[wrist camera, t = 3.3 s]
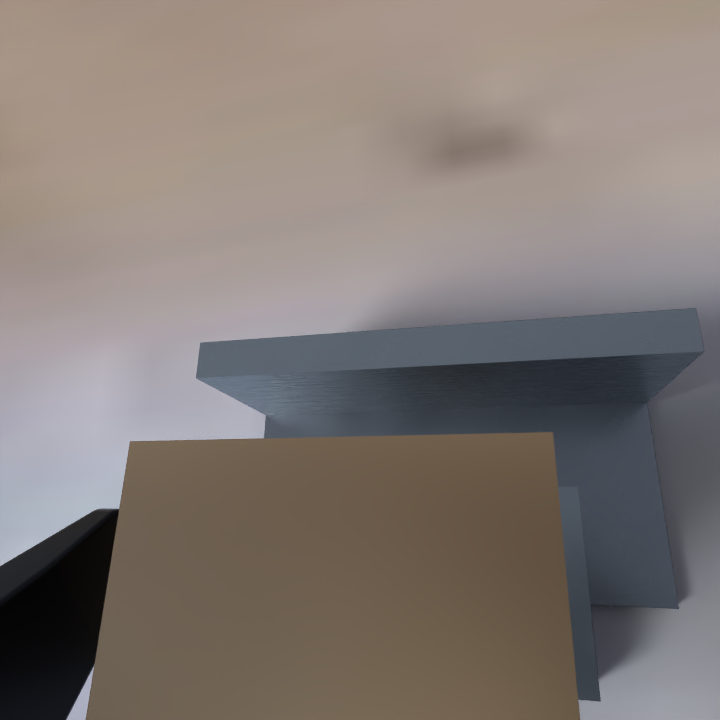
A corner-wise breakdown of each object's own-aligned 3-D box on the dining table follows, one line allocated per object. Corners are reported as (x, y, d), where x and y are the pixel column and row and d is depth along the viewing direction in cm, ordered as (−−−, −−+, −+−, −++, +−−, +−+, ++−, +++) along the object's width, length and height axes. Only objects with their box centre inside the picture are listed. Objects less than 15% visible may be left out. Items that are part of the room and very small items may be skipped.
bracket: (687, 693, 13) (786, 775, 9) (252, 656, 16) (155, 704, 12) (638, 373, 16) (695, 307, 11) (272, 390, 19) (200, 342, 14)
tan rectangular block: (524, 664, 14) (626, 1125, 3) (375, 652, 15) (39, 973, 4) (513, 505, 15) (558, 425, 4) (376, 504, 16) (126, 436, 5)
